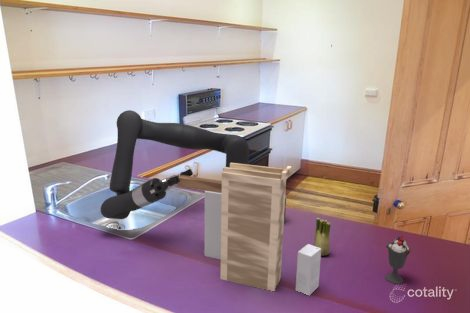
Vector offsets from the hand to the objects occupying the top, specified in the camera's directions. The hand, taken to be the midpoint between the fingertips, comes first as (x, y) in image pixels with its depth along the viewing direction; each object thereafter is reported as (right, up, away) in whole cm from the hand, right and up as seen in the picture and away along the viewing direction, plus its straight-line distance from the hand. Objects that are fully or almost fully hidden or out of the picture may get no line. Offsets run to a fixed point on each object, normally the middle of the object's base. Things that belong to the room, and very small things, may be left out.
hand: (185, 174), depth 114 cm
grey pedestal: (+11, -26, +2) cm, 28 cm away
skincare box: (+36, -31, -15) cm, 50 cm away
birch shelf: (+21, -30, -11) cm, 38 cm away
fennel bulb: (+45, -27, +4) cm, 52 cm away
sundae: (+63, -30, -10) cm, 70 cm away
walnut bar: (+10, -5, -3) cm, 11 cm away
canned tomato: (+32, -21, +29) cm, 48 cm away
